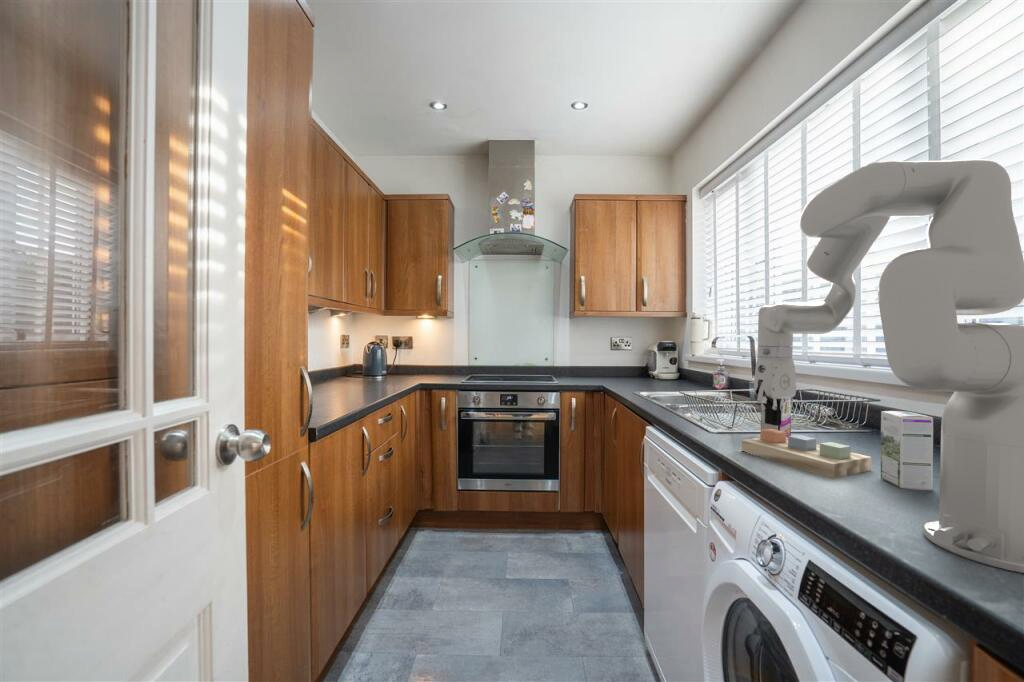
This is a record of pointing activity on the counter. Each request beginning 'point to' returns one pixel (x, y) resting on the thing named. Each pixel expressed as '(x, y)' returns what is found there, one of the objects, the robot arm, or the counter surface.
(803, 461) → the button panel
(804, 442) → the slate grey button
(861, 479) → the counter surface
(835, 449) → the sage green button
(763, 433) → the terracotta button
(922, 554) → the counter surface
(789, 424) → the candy bar box
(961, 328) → the robot arm
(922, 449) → the syrup box
